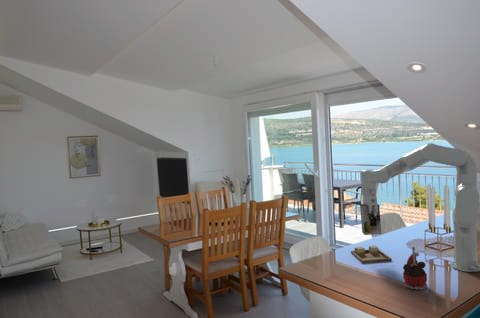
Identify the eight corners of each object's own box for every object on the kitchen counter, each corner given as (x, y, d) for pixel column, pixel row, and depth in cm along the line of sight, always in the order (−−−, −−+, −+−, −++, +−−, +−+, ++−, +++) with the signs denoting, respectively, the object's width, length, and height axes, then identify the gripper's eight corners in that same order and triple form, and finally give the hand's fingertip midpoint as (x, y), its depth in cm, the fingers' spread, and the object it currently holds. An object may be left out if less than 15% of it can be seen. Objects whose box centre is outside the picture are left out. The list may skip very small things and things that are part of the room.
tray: (391, 262, 196) (391, 258, 196) (362, 265, 195) (362, 260, 195) (378, 252, 214) (378, 248, 214) (351, 255, 213) (351, 250, 213)
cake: (412, 292, 158) (410, 251, 158) (398, 284, 167) (396, 246, 167) (433, 288, 161) (431, 248, 160) (418, 281, 170) (416, 243, 169)
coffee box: (378, 231, 203) (376, 202, 202) (381, 234, 197) (379, 204, 196) (361, 232, 204) (359, 203, 203) (364, 235, 198) (362, 205, 197)
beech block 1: (365, 255, 208) (364, 248, 208) (359, 256, 207) (358, 249, 207) (361, 253, 212) (360, 246, 212) (355, 254, 211) (354, 247, 211)
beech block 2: (378, 254, 208) (378, 247, 208) (371, 254, 208) (371, 248, 208) (375, 252, 212) (375, 245, 212) (369, 252, 212) (368, 246, 212)
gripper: (382, 193, 191) (384, 227, 191) (369, 189, 208) (371, 220, 209) (368, 194, 191) (370, 228, 191) (356, 190, 208) (358, 221, 209)
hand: (370, 223), depth 200 cm, fingers closed on coffee box, 6 cm apart
